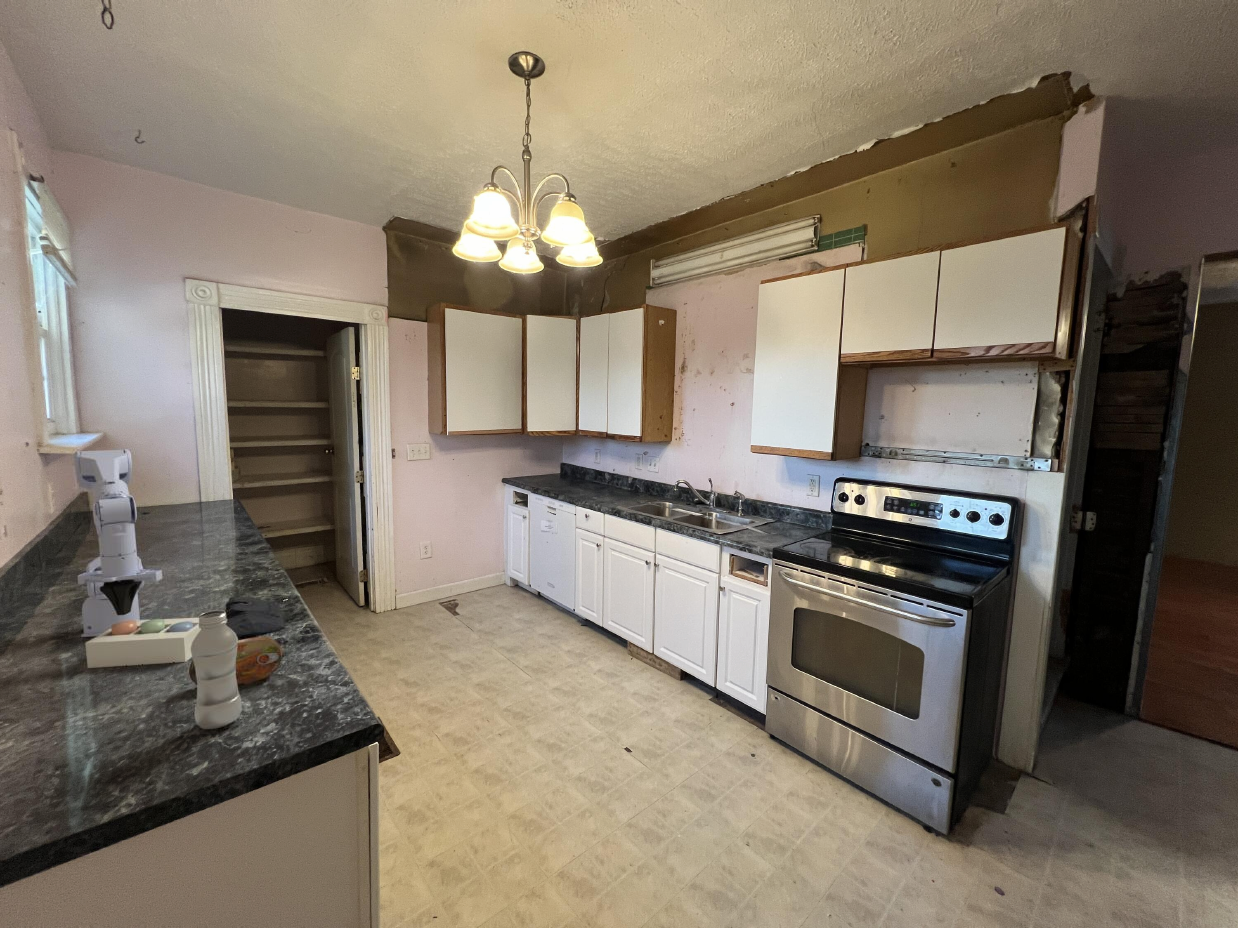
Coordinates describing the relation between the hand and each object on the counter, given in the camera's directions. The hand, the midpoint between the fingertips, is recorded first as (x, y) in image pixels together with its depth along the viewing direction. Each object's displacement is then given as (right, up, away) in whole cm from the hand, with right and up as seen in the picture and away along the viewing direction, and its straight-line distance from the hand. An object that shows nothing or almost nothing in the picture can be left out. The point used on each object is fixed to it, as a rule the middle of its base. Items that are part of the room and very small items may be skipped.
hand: (124, 613), depth 114 cm
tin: (+31, -11, -9) cm, 35 cm away
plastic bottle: (+38, -13, -22) cm, 46 cm away
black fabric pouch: (+14, -8, +19) cm, 25 cm away
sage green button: (+5, -5, +2) cm, 7 cm away
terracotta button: (0, -5, +1) cm, 5 cm away
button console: (+5, -9, +2) cm, 11 cm away
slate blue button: (+10, -6, +3) cm, 12 cm away
